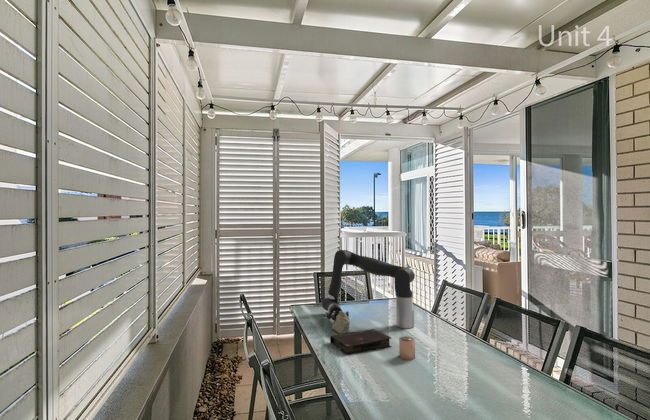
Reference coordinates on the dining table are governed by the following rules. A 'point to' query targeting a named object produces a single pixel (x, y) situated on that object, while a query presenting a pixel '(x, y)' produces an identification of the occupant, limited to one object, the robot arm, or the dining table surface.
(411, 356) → the peach glossy cylinder
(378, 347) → the diary
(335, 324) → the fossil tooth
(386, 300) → the dining table surface
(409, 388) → the dining table surface
